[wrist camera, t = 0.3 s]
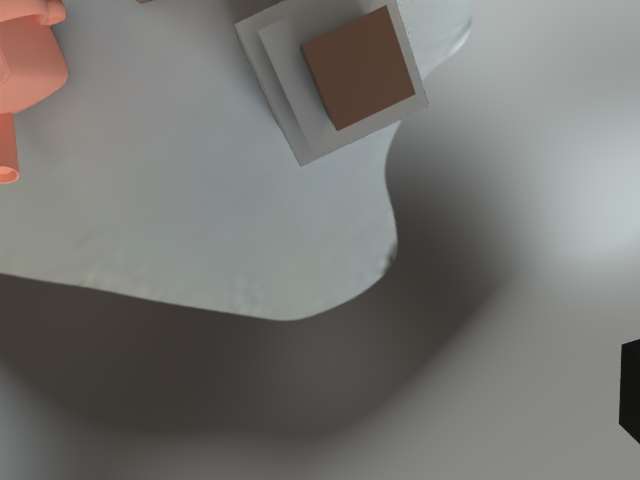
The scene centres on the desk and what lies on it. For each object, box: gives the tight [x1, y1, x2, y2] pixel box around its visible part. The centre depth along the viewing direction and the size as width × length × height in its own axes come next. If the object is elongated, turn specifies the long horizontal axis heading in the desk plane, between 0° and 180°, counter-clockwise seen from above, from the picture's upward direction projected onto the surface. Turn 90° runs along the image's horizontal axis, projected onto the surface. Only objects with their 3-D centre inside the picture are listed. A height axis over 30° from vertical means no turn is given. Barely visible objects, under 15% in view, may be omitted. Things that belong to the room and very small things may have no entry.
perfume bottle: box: [234, 0, 428, 167], centre depth 25 cm, size 7×7×18 cm
